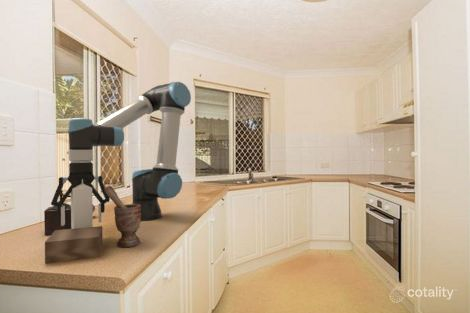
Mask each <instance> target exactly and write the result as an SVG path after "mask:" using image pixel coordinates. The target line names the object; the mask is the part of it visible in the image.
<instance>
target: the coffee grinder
mask: <svg viewBox="0 0 470 313" xmlns="http://www.w3.org/2000/svg"><path fill="white" fill-rule="evenodd" d="M64 194H65V193H63V189H62V190H61V193H60V195H59V201H60V200H61V199H62V197H63V196H64ZM67 198H71V194H70V195H69V196H68V197H67ZM62 206H65V225H64V226H61V216H58V215H57V206H54V205H51V206H49V207H47V208H46V209H45V210H44V212H43V213H44V219H43V220H44V222H43V223H44V236H51V235H52V233H53V232H54V231H55V230H64V229H71V204H69V203H66V202H64V203H63V204H62Z"/></svg>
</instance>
